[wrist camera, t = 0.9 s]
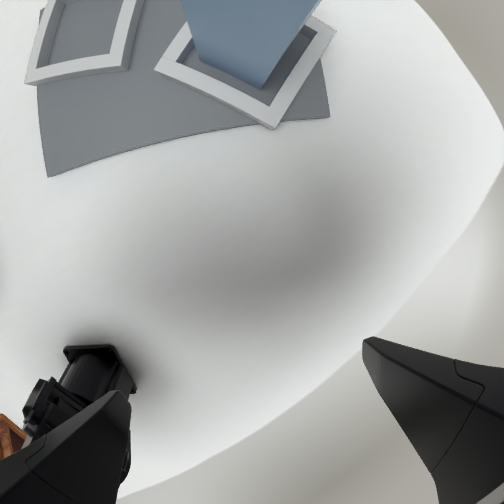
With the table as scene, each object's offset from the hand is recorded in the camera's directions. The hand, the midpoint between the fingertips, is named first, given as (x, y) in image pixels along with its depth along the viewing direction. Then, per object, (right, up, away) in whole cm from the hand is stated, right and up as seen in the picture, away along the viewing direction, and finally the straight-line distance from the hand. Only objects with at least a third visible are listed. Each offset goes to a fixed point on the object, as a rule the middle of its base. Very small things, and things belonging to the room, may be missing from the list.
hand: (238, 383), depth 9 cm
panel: (-6, +20, +6) cm, 21 cm away
